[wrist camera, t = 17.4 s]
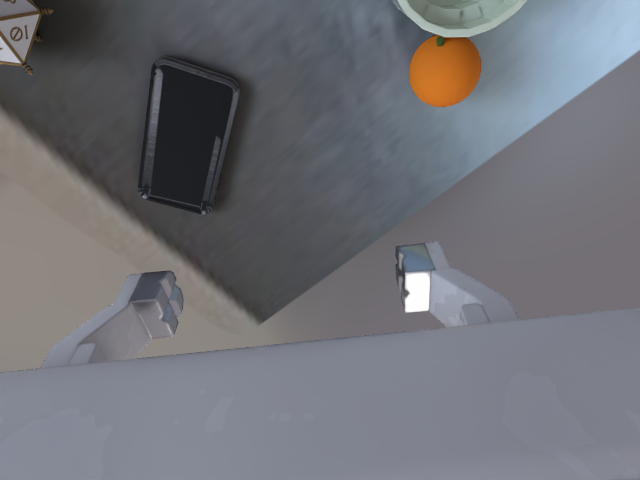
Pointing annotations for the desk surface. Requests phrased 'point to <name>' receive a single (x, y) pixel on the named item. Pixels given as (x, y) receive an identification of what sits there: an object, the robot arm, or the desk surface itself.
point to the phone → (186, 134)
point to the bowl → (458, 15)
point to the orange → (444, 70)
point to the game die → (19, 30)
